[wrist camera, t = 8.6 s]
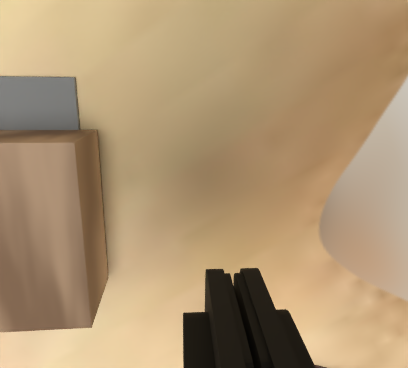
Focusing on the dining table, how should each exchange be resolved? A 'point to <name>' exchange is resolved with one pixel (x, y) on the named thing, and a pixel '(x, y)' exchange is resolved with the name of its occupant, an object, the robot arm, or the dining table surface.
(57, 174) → the walnut block
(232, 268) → the dining table surface
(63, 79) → the mat
